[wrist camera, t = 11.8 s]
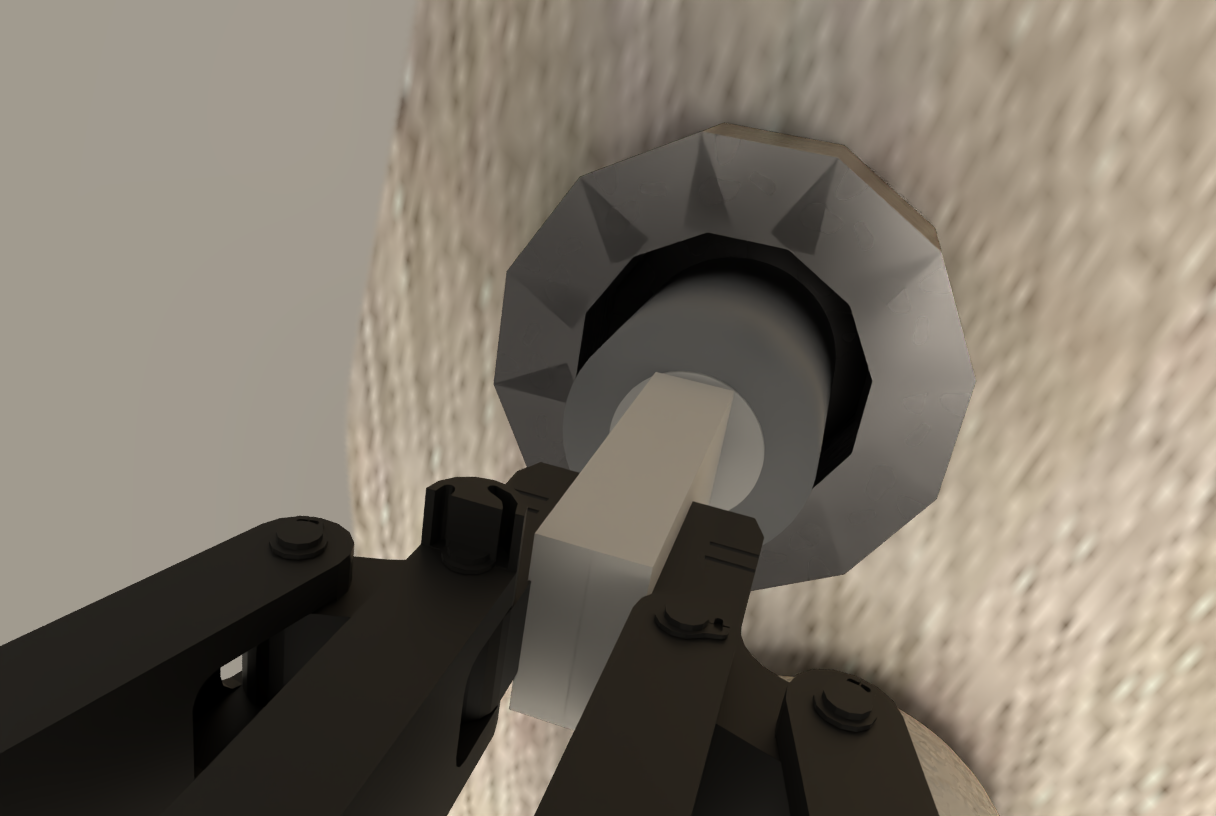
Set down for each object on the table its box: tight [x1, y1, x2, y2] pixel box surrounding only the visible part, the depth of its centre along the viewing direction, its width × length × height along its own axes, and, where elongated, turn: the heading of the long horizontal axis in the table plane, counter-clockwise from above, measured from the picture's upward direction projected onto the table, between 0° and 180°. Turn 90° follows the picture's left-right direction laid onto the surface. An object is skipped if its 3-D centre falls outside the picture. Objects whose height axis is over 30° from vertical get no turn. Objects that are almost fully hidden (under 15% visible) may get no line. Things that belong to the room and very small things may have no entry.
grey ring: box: [494, 123, 976, 591], centre depth 22 cm, size 10×10×3 cm
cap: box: [563, 257, 836, 545], centre depth 21 cm, size 5×5×6 cm
